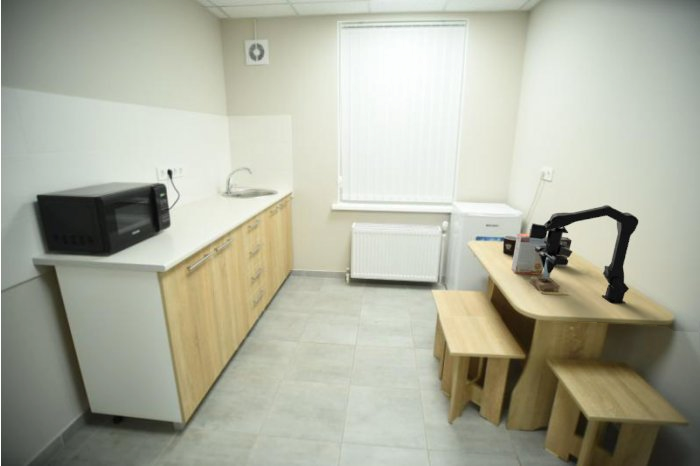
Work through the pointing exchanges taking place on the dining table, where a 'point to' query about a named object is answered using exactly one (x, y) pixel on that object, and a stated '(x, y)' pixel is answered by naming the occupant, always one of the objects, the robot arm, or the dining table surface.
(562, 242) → the coffee box
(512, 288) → the dining table surface
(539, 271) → the cracker box
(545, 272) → the light blue cylinder
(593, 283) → the dining table surface
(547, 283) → the brown square frame
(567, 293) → the lace
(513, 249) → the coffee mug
